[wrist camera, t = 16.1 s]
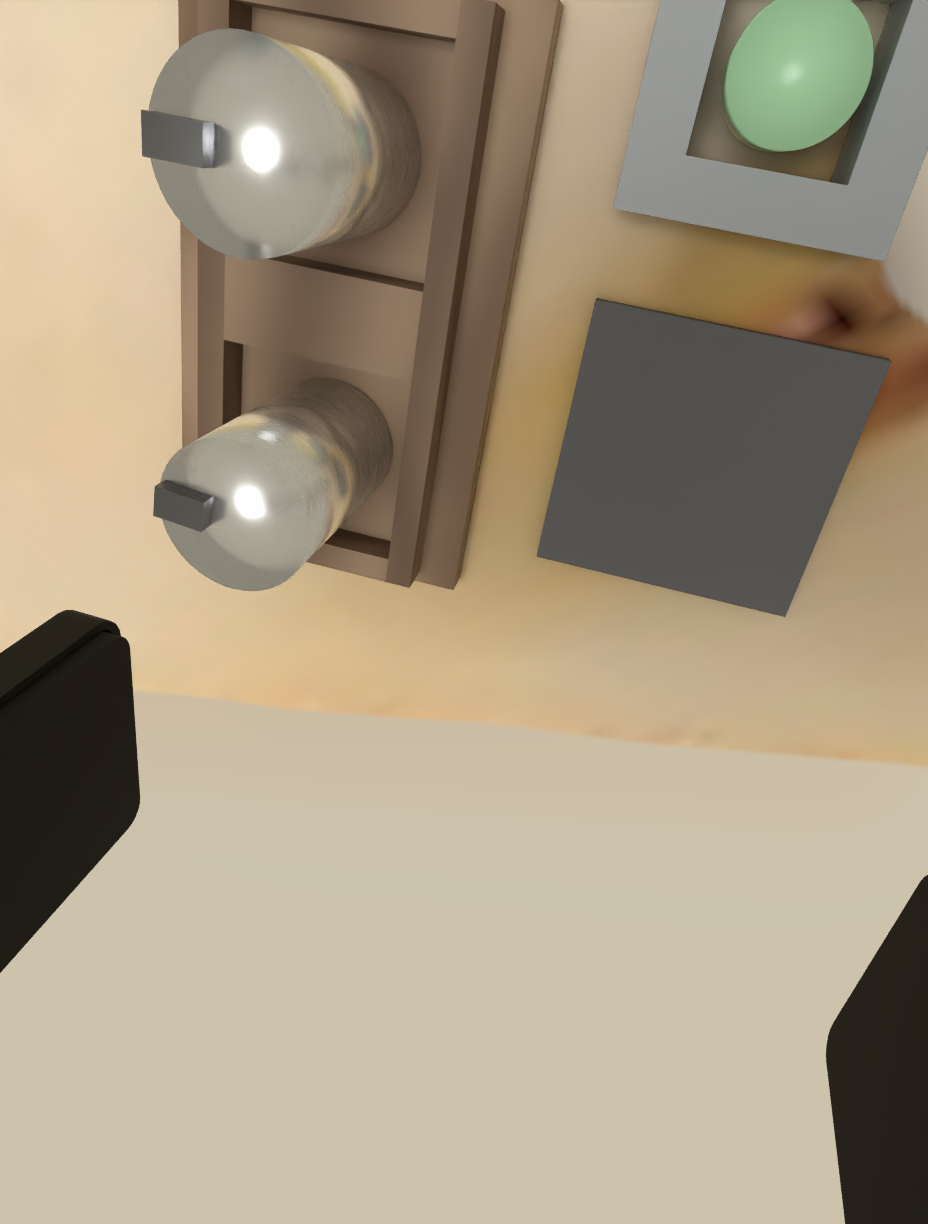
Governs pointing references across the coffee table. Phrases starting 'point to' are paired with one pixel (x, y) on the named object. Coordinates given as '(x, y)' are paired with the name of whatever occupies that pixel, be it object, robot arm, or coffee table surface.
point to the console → (765, 200)
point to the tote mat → (704, 454)
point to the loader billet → (277, 145)
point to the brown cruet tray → (389, 266)
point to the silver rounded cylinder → (274, 483)
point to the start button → (796, 74)
